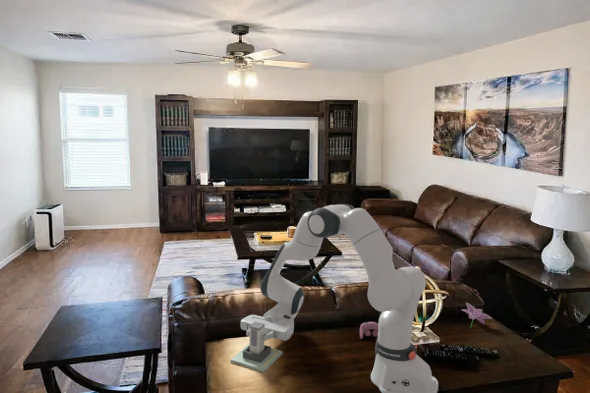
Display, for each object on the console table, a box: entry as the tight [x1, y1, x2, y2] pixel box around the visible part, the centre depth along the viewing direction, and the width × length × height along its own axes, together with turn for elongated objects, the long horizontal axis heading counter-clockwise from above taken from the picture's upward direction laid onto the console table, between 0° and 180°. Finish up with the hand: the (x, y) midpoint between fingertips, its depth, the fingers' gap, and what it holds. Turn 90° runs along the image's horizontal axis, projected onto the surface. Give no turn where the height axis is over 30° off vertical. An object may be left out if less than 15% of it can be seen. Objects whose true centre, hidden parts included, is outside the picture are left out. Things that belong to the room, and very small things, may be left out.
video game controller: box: [359, 321, 379, 340], centre depth 189 cm, size 10×5×7 cm, turn 85°
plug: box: [249, 322, 265, 355], centre depth 170 cm, size 4×5×12 cm
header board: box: [230, 342, 283, 373], centre depth 171 cm, size 14×14×4 cm
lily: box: [461, 302, 493, 328], centre depth 201 cm, size 12×12×10 cm
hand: (255, 336), depth 169 cm, fingers open, 5 cm apart
